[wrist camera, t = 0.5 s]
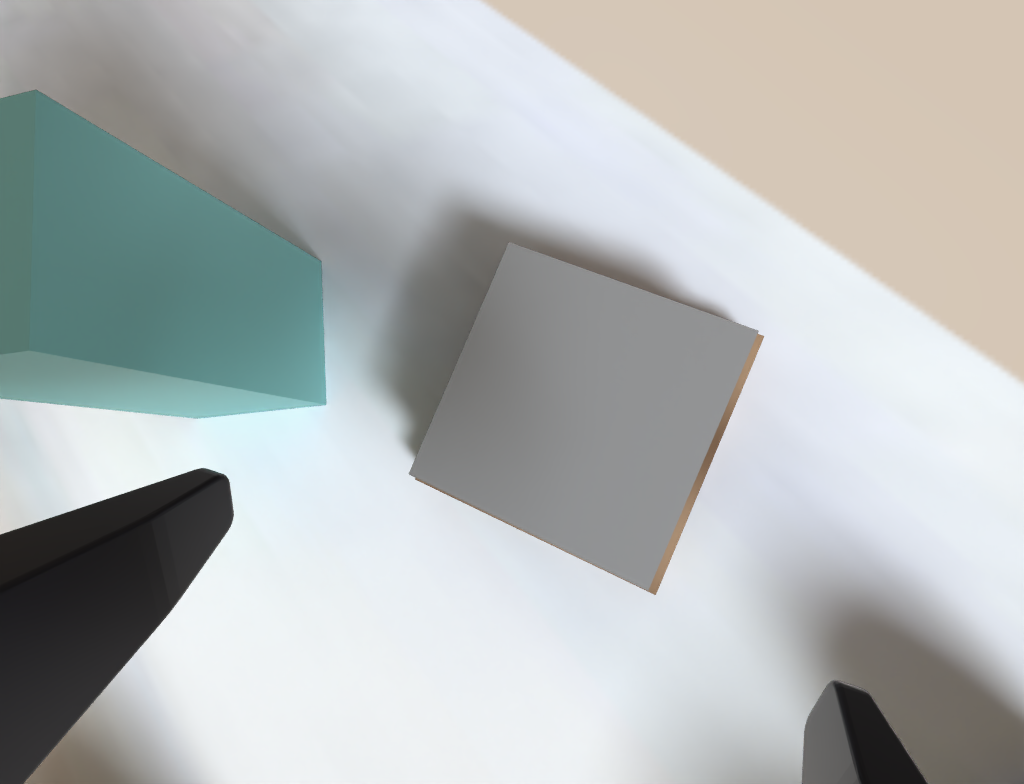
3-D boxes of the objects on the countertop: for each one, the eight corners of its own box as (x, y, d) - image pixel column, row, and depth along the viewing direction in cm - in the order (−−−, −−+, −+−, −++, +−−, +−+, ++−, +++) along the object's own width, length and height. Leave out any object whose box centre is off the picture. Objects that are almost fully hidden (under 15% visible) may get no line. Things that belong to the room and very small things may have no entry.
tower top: (650, 576, 20) (648, 591, 18) (436, 473, 23) (408, 474, 20) (747, 346, 21) (758, 331, 18) (525, 265, 23) (508, 241, 20)
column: (326, 404, 26) (28, 350, 14) (197, 418, 27) (-180, 379, 15) (321, 261, 26) (35, 89, 14) (195, 281, 28) (-163, 138, 16)
